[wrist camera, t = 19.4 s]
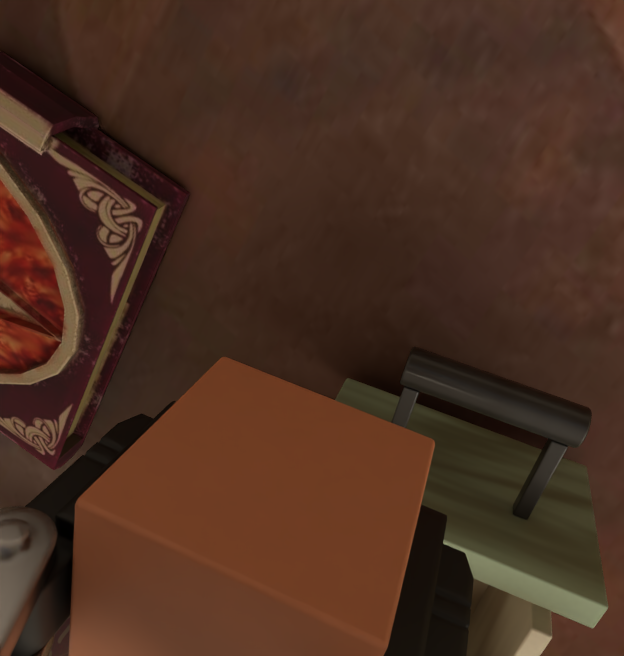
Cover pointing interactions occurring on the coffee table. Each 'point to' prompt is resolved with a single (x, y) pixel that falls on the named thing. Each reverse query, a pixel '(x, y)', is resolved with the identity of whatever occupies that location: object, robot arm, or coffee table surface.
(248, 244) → the coffee table surface
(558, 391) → the coffee table surface
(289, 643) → the block
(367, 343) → the coffee table surface
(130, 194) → the book
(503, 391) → the drawer
